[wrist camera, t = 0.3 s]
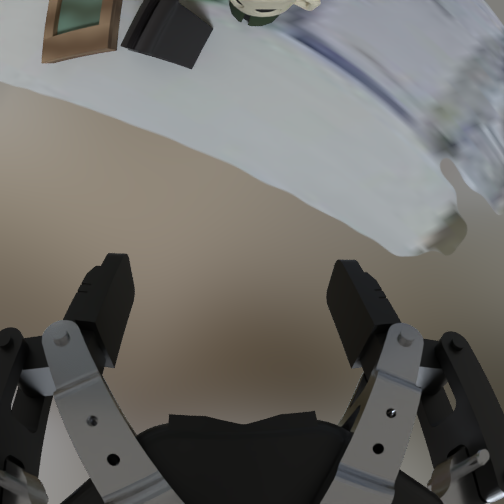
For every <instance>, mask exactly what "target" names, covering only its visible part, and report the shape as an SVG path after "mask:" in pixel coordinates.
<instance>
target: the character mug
mask: <svg viewBox="0 0 504 504" xmlns="http://www.w3.org/2000/svg"><path fill="white" fill-rule="evenodd" d="M293 4H295V5H297V6H299V7H301V8H303V9H305V10H308V11H312V10H313V9H315V8H316V7H317V6H319V5H320V0H230V4H229V5H230V9H231V13H232V15H233V16H234V17H235V18H236V19H237V20H238V21H239V22H242V20H243V18H244V19H245V20H248V21H249V23H248V25H249V26H263V25H266V24H269V23H271V22H273V21H274V20H275V19H276V18H277V17H278V16H279V15H280V14H281V13H283V12H285V11H286V10H287V9H289V8H290V7H291V6H292V5H293Z"/></svg>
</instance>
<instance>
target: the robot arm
mask: <svg viewBox="0 0 504 504" xmlns="http://www.w3.org/2000/svg"><path fill="white" fill-rule="evenodd" d="M134 295H135V289H134V282H133V277H132V272H131V267H130V261H129V257H128V255H127V254H115V253H108V254H107V256H106V258H105V259H104V261H103V263H102V265H101V266H95V267H94V268H93V269H92V270H91V271H89V272H88V273H87V274H86V276H85V278H84V280H83V282H82V285H80V287H79V289H78V293H76V295H75V297H74V299H73V301H72V302H71V305H70V306H69V308H68V311H67V313H66V314H65V317H64V319H63V320H60V321H57V322H55V323H53V324H51V325H50V326H49V327H48V328H47V329H46V330H45V331H44V333H43V336H38V337H30V338H24V337H23V336H22V334H21V332H20V331H19V330H18V329H16V328H5V329H3V330H1V331H0V504H47V503H48V496H47V494H46V491H45V488H44V486H43V484H42V482H41V481H40V480H39V479H38V475H39V466H40V459H41V452H42V446H43V440H44V435H45V430H46V425H47V420H48V415H49V411H50V406H51V402H52V398H53V395H54V399H55V402H56V405H57V407H58V409H59V413H60V415H61V418H62V420H63V423H64V425H65V427H66V430H67V432H68V434H69V437H70V439H71V441H72V443H73V445H74V447H75V450H76V451H77V454H78V456H79V458H80V459H81V462H82V463H83V465H84V467H85V469H86V471H87V473H88V475H89V477H90V478H89V479H88V480H87V481H86V482H85V483H84V484H83V485H81V486H80V487H79V488H78V489H77V490H76V491H74V492H73V493H72V494H71V495H70V496H69V497H68V498H66V499H65V500H64V501H63V502H62V503H60V504H490V503H493V502H495V501H497V500H499V499H501V498H504V414H503V411H502V409H501V407H500V404H499V402H498V400H497V398H496V396H495V394H494V391H493V389H492V387H491V385H490V383H489V381H488V380H487V377H486V375H485V373H484V371H483V369H482V367H481V365H480V363H479V362H478V360H477V358H476V356H475V354H474V353H473V351H472V349H471V347H470V345H469V344H468V342H467V341H466V339H465V338H464V337H463V336H461V335H460V334H458V333H456V332H446V333H444V334H443V336H442V337H441V339H440V340H439V341H434V340H428V339H423V338H422V336H421V334H420V332H419V331H418V330H417V329H415V328H414V327H413V326H411V325H408V324H405V323H401V322H400V319H399V318H398V316H397V314H396V313H395V311H394V309H393V307H392V306H391V304H390V302H389V301H388V299H387V298H386V295H385V294H384V292H383V291H382V289H381V287H380V286H379V284H378V282H377V281H376V280H375V279H374V278H373V277H372V276H371V275H369V274H368V273H367V272H363V270H362V268H361V267H360V265H359V263H358V262H357V261H356V260H337V261H336V263H335V265H334V269H333V272H332V276H331V279H330V282H329V286H328V289H327V296H326V298H327V305H328V307H329V310H330V312H331V315H332V317H333V320H334V323H335V326H336V328H337V331H338V333H339V336H340V339H341V341H342V344H343V347H344V350H345V352H346V355H347V358H348V361H349V363H350V366H351V368H359V367H362V368H363V371H364V372H363V374H362V376H361V378H360V380H359V382H358V385H357V387H356V389H355V392H354V394H353V396H352V399H351V401H350V403H349V405H348V407H347V409H346V411H345V413H344V415H343V417H342V418H341V420H340V421H339V423H338V425H335V424H332V423H329V422H325V421H321V420H317V418H316V414H315V411H311V412H303V413H293V414H292V413H291V414H281V415H277V416H274V417H271V418H267V419H264V420H260V421H257V422H253V423H249V424H237V423H232V422H228V421H223V420H219V419H215V418H211V417H206V416H187V415H186V416H185V415H169V423H167V424H162V425H158V426H154V427H152V428H149V429H147V430H145V431H143V432H141V433H140V434H138V435H137V434H136V433H135V431H134V430H133V428H132V427H131V425H130V423H129V422H128V420H127V419H126V417H125V415H124V414H123V412H122V410H121V409H120V407H119V405H118V404H117V402H116V400H115V398H114V397H113V395H112V393H111V391H110V389H109V387H108V385H107V384H106V382H105V380H104V378H103V376H102V374H103V370H104V367H110V368H115V364H116V360H117V356H118V353H119V349H120V345H121V342H122V338H123V334H124V331H125V328H126V324H127V321H128V318H129V314H130V311H131V308H132V305H133V302H134ZM447 382H448V383H449V385H450V387H451V389H452V392H453V394H454V396H455V399H456V408H455V410H454V411H453V410H452V407H451V405H450V402H449V400H448V397H447V395H446V393H445V390H444V388H443V386H444V385H445V384H446V383H447ZM17 386H18V390H17V394H16V397H15V400H14V403H13V407H12V410H11V403H12V399H13V396H14V393H15V390H16V387H17ZM416 414H417V415H418V418H419V421H420V424H421V427H422V431H423V434H424V437H425V440H426V443H427V447H428V450H429V453H430V457H431V460H432V464H433V468H434V470H433V472H432V476H431V479H430V480H429V481H428V483H427V488H426V487H424V486H423V485H422V484H420V483H419V482H417V481H416V480H414V479H413V478H411V477H410V476H408V475H407V474H405V473H404V472H403V471H401V470H400V466H401V463H402V460H403V458H404V455H405V452H406V449H407V446H408V442H409V439H410V435H411V432H412V429H413V425H414V421H415V417H416Z"/></svg>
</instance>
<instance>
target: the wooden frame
mask: <svg viewBox="0 0 504 504" xmlns="http://www.w3.org/2000/svg"><path fill="white" fill-rule="evenodd" d="M121 7H122V0H49V5H48V11H47V17H46V24H45V31H44V40H43V51H42V63H56V62H60V61H64V60H68V59H73V58H77V57H82V56H87V55H92V54H98V53H103V52H110V51H116V50H117V40H118V30H119V22H120V14H121Z"/></svg>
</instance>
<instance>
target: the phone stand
mask: <svg viewBox="0 0 504 504" xmlns="http://www.w3.org/2000/svg"><path fill="white" fill-rule="evenodd" d="M212 30H213V29H212V28H211V27H210V26H209V25H207V24H206V23H205V22H204V21H202V20H201V19H200V18H198V17H197V16H196V15H195V14H193V13H192V12H191V11H189V10H188V9H186V8H185V7H184V6H182V5H181V4H180V3H179V1H178V0H144V1H143V3H142V5H141V6H140V8H139V10H138V12H137V14H136V16H135V17H134V19H133V21H132V23H131V25H130V27H129V29H128V31H127V33H126V35H125V37H124V39H123V42H122V44H121V46H122V47H125V48H128V50H131V51H134V52H138V53H142V54H145V55H149V56H152V57H156V58H159V59H162V60H165V61H169V62H172V63H175V64H178V65H181V66H184V67H186V68H189V69H192V68H193V66H194V64H195V62H196V60H197V58H198V56H199V54H200V52H201V50H202V48H203V47H204V45H205V43H206V41H207V39H208V37H209V36H210V34H211V32H212Z"/></svg>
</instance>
